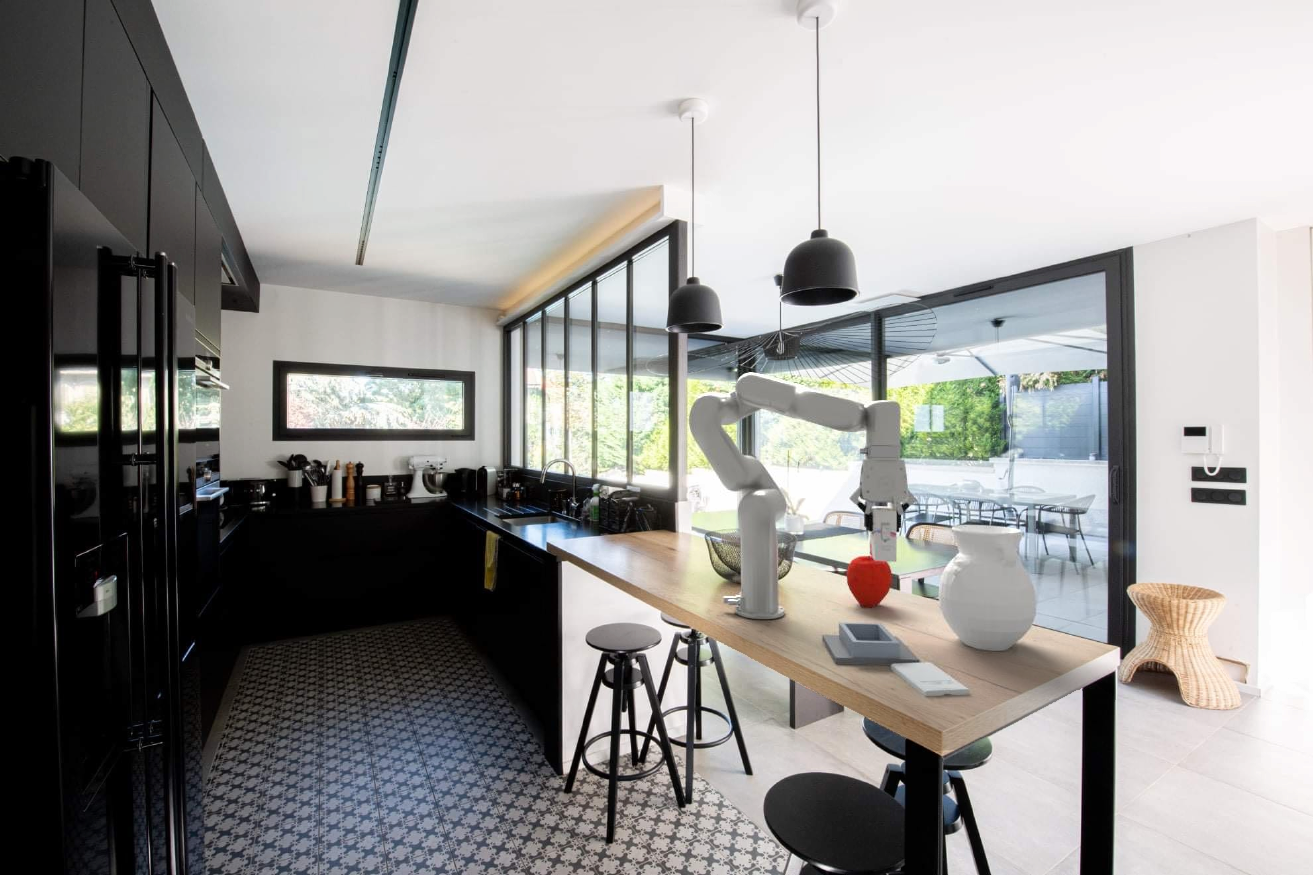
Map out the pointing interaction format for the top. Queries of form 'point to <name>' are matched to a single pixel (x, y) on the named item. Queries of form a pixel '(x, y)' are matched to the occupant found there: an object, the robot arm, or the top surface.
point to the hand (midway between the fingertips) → (882, 530)
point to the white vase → (987, 588)
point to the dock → (867, 645)
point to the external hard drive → (929, 679)
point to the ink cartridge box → (884, 533)
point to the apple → (869, 580)
